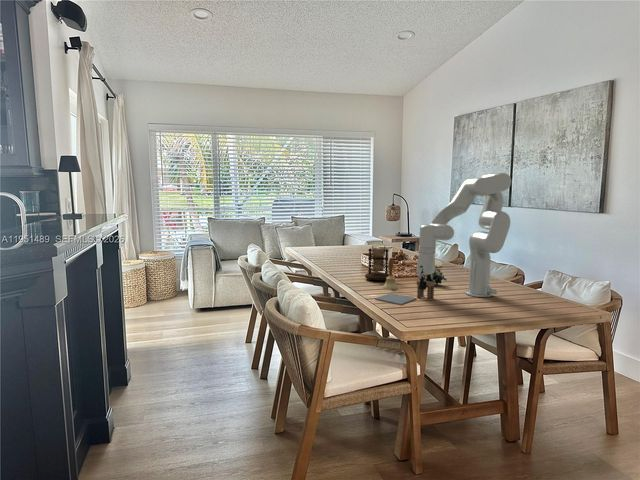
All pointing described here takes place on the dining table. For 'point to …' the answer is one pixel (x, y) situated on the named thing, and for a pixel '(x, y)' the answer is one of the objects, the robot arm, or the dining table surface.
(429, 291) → the walnut stool
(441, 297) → the dining table surface
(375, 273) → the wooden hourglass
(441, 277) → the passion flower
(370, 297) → the dining table surface
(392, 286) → the hand bell
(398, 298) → the slate mat
